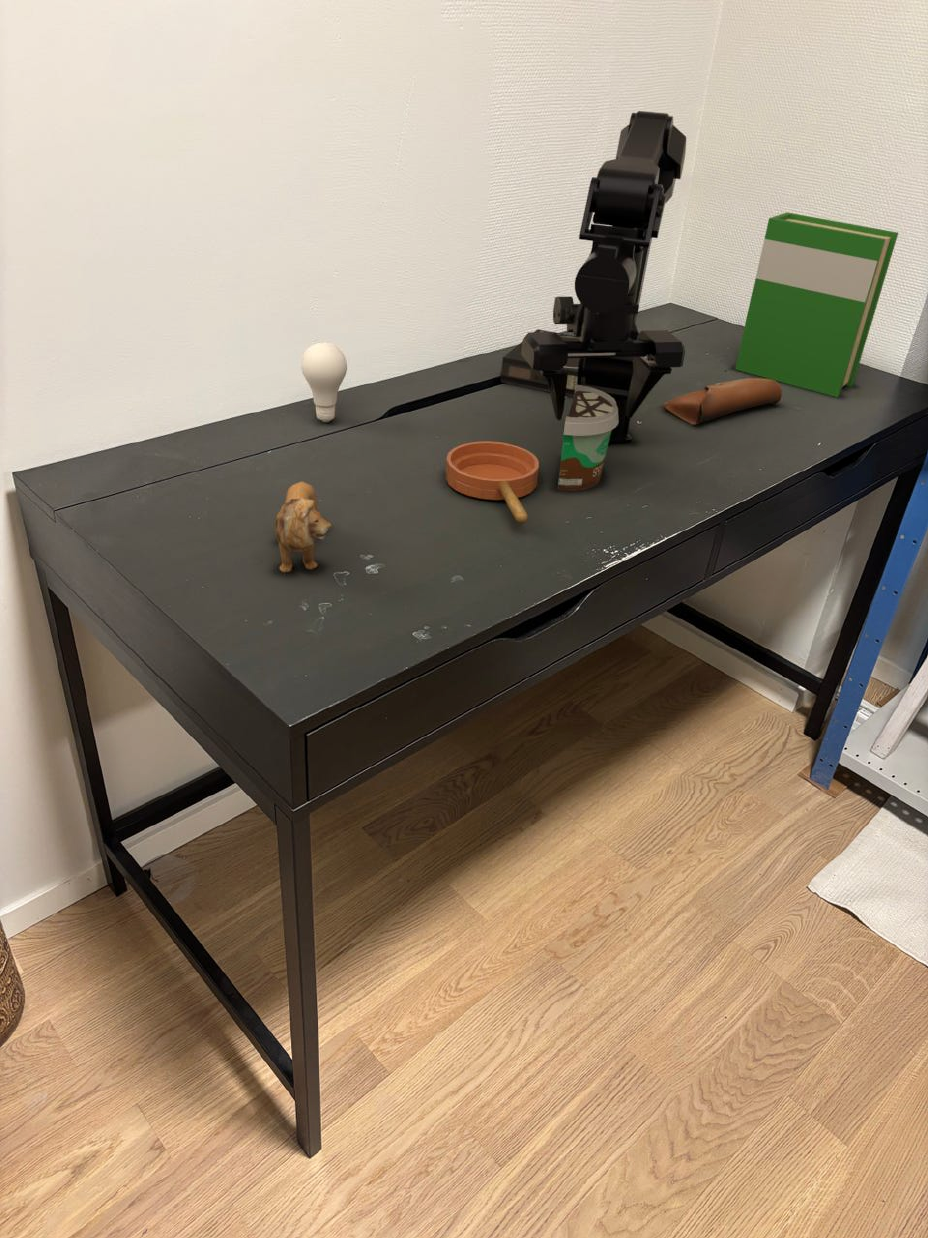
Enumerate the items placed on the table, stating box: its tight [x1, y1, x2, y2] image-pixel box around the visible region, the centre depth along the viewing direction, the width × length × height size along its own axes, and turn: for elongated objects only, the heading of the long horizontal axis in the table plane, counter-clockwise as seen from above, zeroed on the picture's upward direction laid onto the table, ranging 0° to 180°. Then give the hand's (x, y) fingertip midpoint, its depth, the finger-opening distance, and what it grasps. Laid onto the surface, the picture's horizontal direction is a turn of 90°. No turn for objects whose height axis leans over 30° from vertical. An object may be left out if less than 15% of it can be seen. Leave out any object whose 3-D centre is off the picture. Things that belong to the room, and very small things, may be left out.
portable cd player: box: [499, 328, 580, 398], centre depth 151 cm, size 16×17×4 cm
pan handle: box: [499, 481, 529, 524], centre depth 110 cm, size 1×9×1 cm, turn 13°
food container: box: [556, 385, 619, 492], centre depth 118 cm, size 12×6×10 cm, turn 168°
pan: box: [445, 440, 540, 501], centre depth 118 cm, size 11×11×3 cm
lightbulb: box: [300, 341, 348, 423], centre depth 128 cm, size 6×6×11 cm
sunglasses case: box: [663, 377, 783, 426], centre depth 143 cm, size 18×7×7 cm, turn 126°
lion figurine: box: [274, 481, 332, 573], centre depth 99 cm, size 15×5×9 cm, turn 13°
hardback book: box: [734, 211, 899, 398], centre depth 151 cm, size 18×7×24 cm, turn 53°
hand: (593, 417), depth 117 cm, fingers open, 9 cm apart
